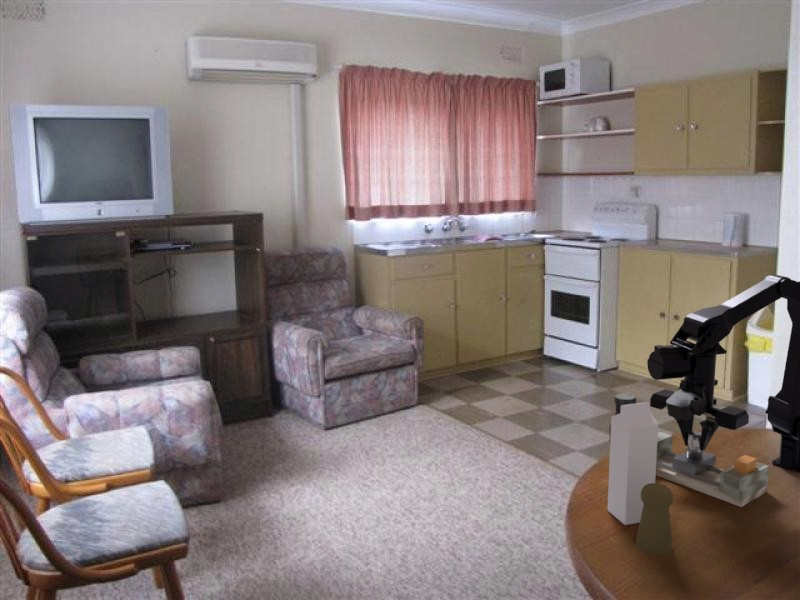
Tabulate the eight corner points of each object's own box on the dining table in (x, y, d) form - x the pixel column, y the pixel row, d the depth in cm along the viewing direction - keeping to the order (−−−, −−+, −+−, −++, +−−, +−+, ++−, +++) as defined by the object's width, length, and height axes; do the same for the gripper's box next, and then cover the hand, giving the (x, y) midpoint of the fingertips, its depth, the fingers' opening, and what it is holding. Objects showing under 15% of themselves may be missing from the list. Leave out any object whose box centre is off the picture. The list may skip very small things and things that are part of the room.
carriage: (693, 456, 156) (695, 425, 154) (715, 464, 152) (717, 432, 150) (672, 467, 151) (674, 435, 149) (694, 474, 147) (696, 442, 146)
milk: (653, 521, 134) (660, 407, 130) (624, 525, 133) (630, 411, 128) (634, 505, 140) (640, 396, 136) (606, 510, 138) (611, 400, 134)
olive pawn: (675, 556, 122) (679, 496, 120) (637, 553, 123) (640, 493, 121) (669, 538, 128) (673, 480, 126) (633, 535, 129) (636, 477, 127)
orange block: (743, 469, 145) (744, 454, 144) (755, 473, 143) (756, 458, 142) (733, 474, 142) (734, 460, 142) (745, 478, 141) (746, 464, 140)
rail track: (659, 454, 163) (660, 431, 162) (766, 491, 145) (769, 465, 144) (632, 466, 157) (633, 442, 156) (741, 507, 139) (743, 480, 138)
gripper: (636, 373, 150) (632, 444, 153) (723, 395, 135) (718, 473, 138) (666, 363, 157) (662, 431, 160) (752, 382, 142) (747, 457, 145)
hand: (695, 447), depth 150 cm, fingers closed on carriage, 3 cm apart
